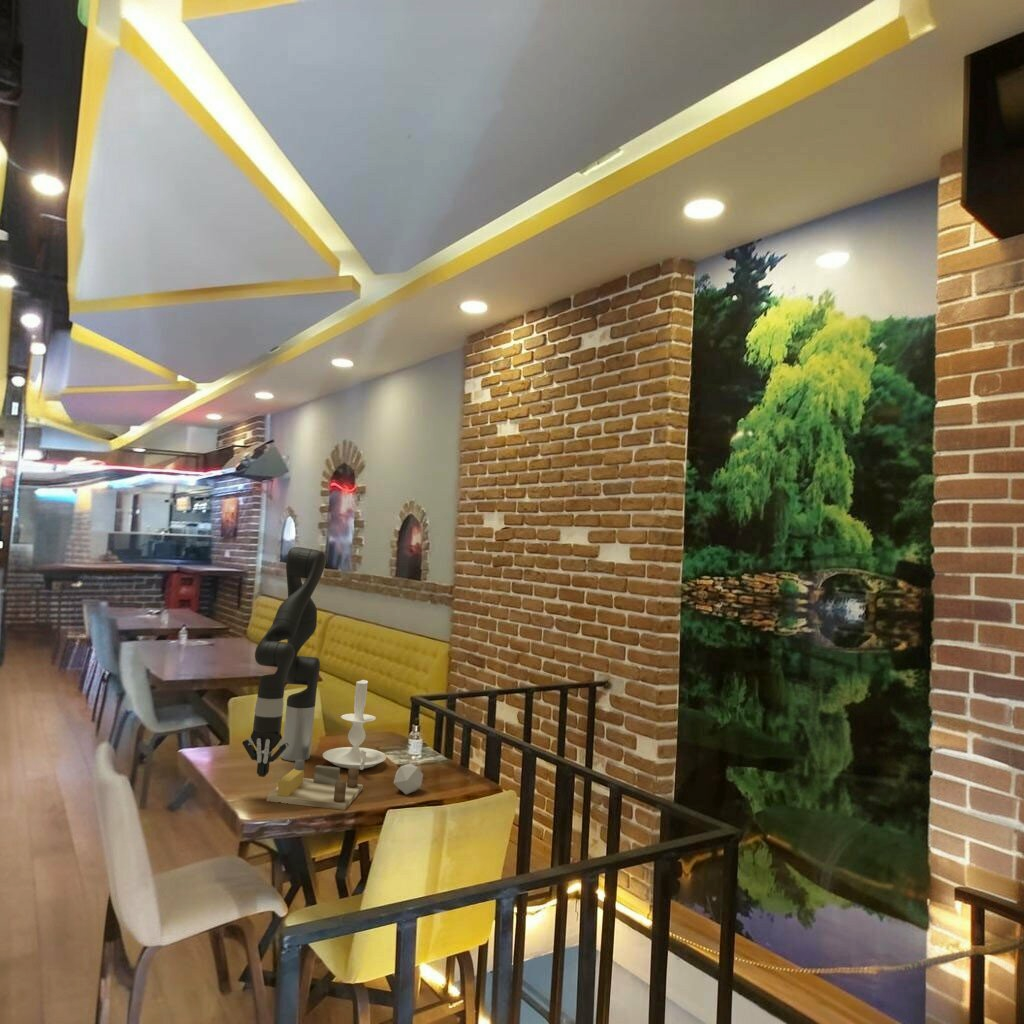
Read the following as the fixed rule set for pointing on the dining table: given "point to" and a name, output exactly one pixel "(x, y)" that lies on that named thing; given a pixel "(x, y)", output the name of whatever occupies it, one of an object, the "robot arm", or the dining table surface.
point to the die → (408, 778)
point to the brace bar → (292, 779)
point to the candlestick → (356, 737)
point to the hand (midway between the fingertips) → (262, 775)
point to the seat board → (323, 789)
